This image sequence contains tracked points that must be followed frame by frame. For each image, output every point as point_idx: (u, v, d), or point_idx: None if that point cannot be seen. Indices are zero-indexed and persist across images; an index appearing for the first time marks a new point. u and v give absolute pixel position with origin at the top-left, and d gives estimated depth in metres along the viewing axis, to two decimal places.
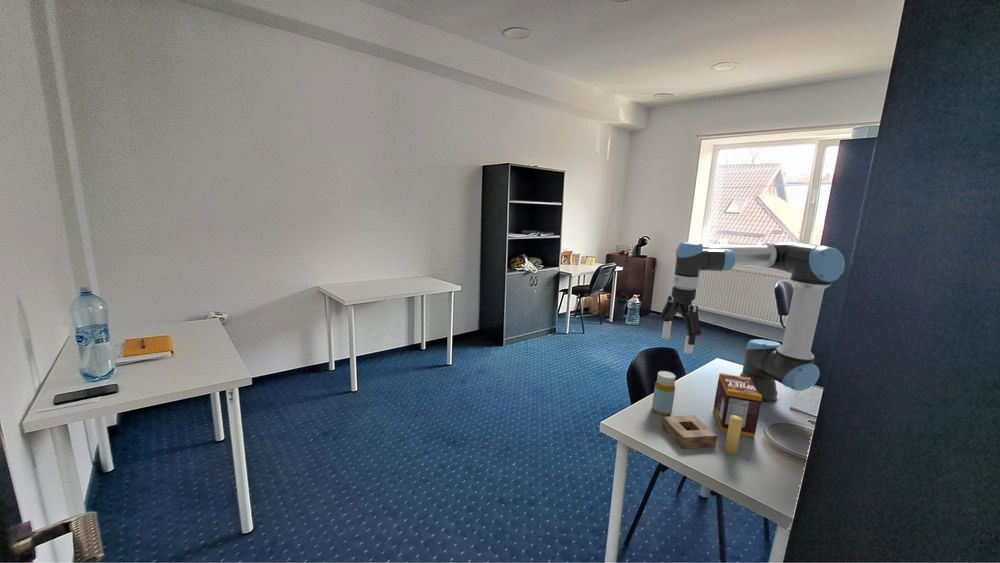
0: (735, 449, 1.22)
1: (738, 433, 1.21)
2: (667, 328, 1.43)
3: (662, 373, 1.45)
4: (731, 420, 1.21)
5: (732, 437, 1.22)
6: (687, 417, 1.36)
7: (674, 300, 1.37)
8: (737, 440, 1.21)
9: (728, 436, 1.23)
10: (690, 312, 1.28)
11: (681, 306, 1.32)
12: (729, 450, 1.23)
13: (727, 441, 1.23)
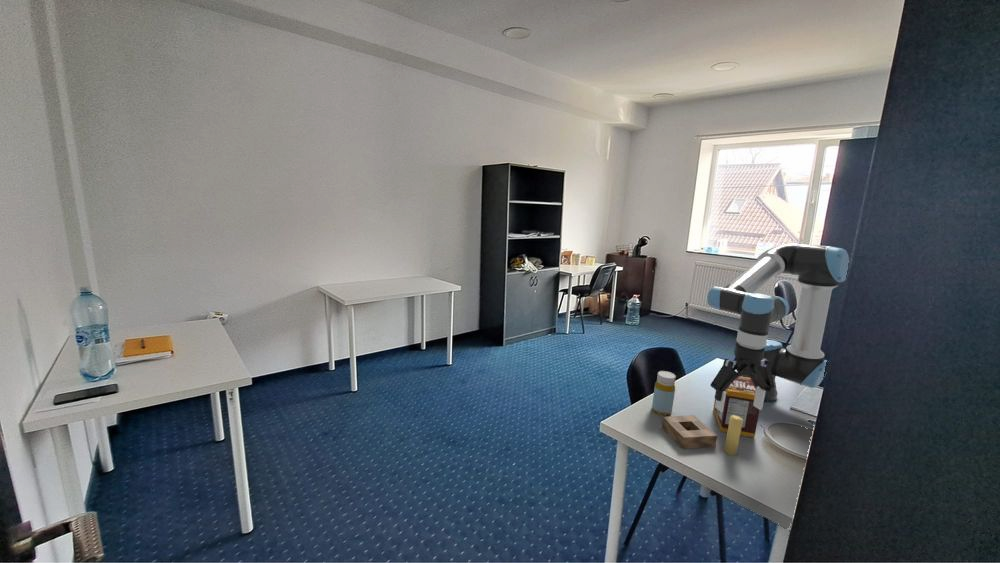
0: (735, 449, 1.22)
1: (738, 433, 1.21)
2: (758, 396, 1.21)
3: (662, 373, 1.45)
4: (731, 420, 1.21)
5: (732, 437, 1.22)
6: (687, 417, 1.36)
7: None
8: (737, 440, 1.21)
9: (728, 436, 1.23)
10: None
11: None
12: (729, 450, 1.23)
13: (727, 441, 1.23)
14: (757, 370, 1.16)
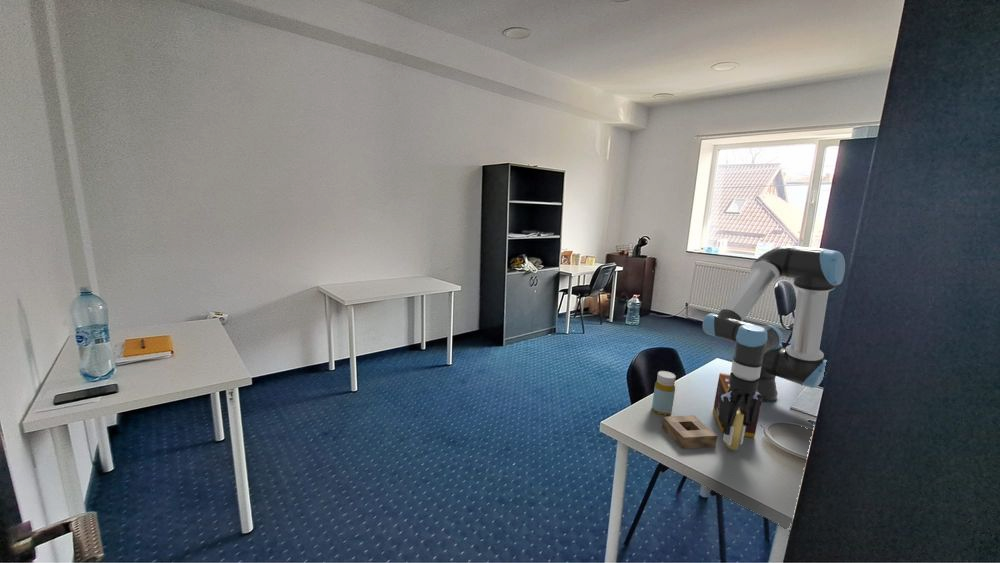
0: (737, 444, 1.22)
1: (739, 428, 1.21)
2: None
3: (662, 373, 1.45)
4: None
5: (733, 432, 1.21)
6: (687, 417, 1.36)
7: None
8: (738, 435, 1.21)
9: None
10: None
11: None
12: (731, 445, 1.22)
13: None
14: (749, 401, 1.19)
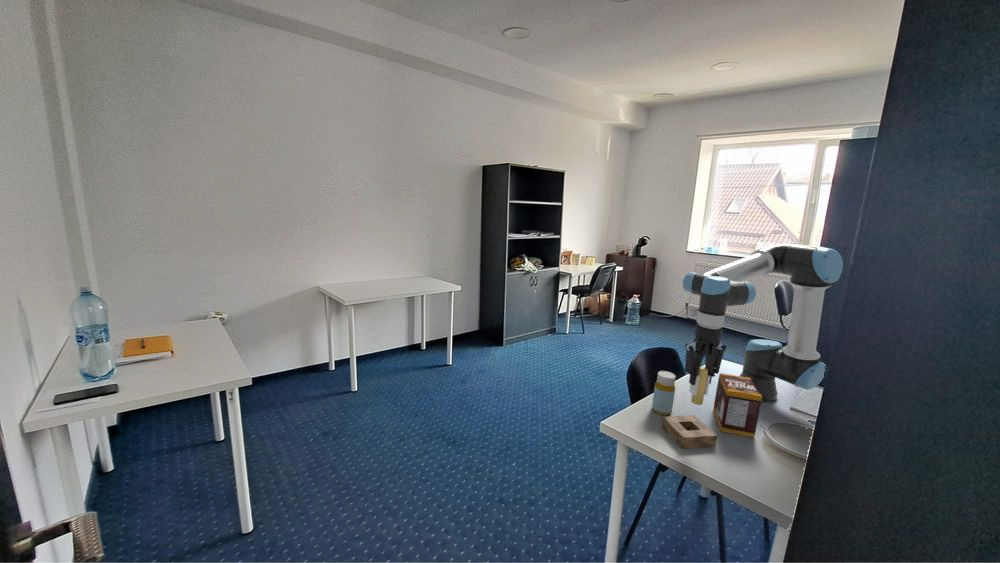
0: (701, 399, 1.26)
1: (704, 383, 1.24)
2: None
3: (662, 373, 1.45)
4: None
5: (698, 387, 1.25)
6: (687, 417, 1.36)
7: None
8: (703, 390, 1.25)
9: None
10: None
11: None
12: (695, 400, 1.26)
13: None
14: (713, 351, 1.22)
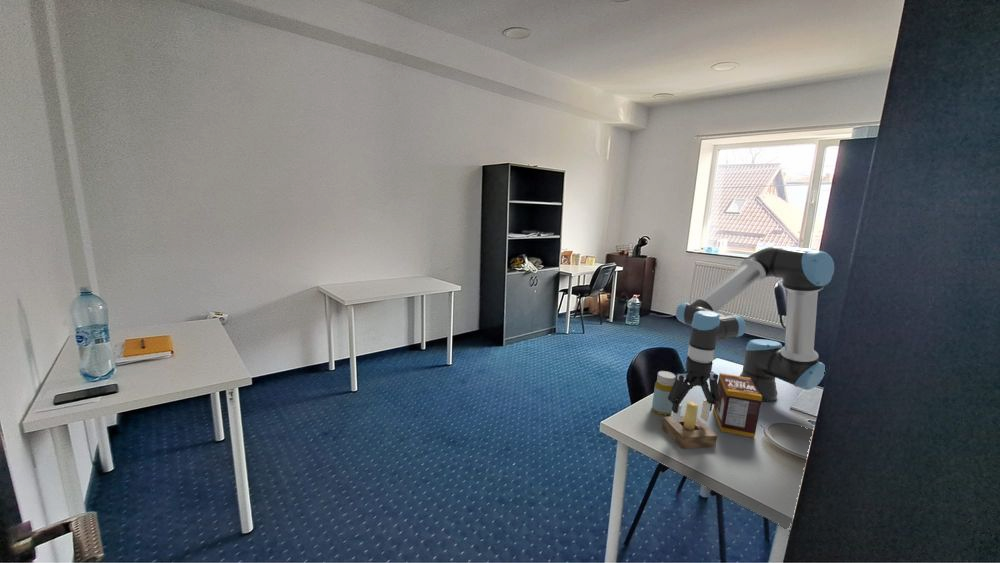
0: None
1: (694, 418, 1.28)
2: (705, 408, 1.30)
3: (662, 373, 1.45)
4: (687, 406, 1.29)
5: (688, 423, 1.29)
6: None
7: None
8: (693, 425, 1.29)
9: (685, 421, 1.30)
10: None
11: None
12: None
13: (684, 426, 1.30)
14: (705, 382, 1.26)
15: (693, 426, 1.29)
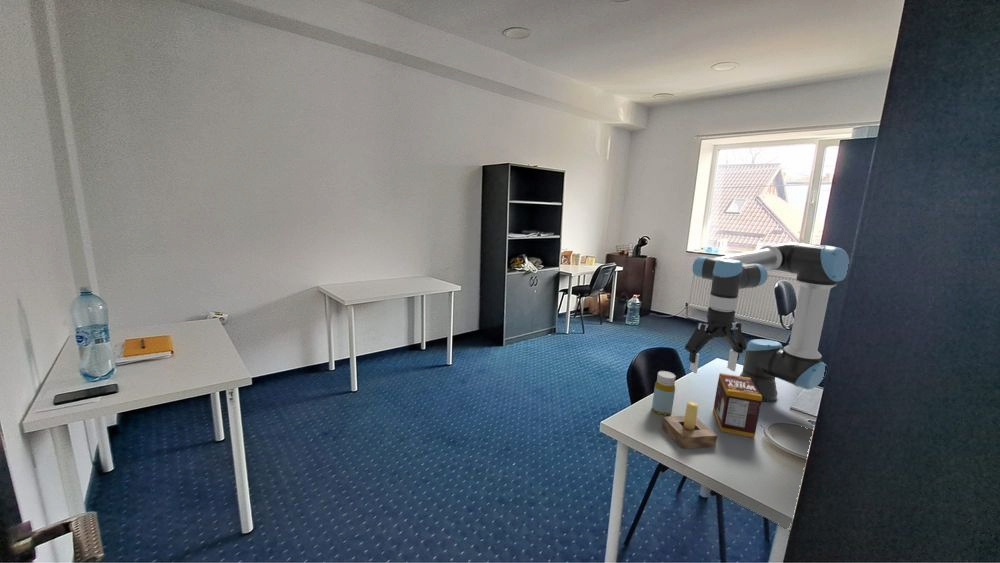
0: None
1: (694, 418, 1.28)
2: (731, 358, 1.26)
3: (662, 373, 1.45)
4: (687, 406, 1.29)
5: (688, 423, 1.29)
6: None
7: None
8: (693, 425, 1.29)
9: (685, 421, 1.30)
10: None
11: None
12: None
13: (684, 426, 1.30)
14: (729, 332, 1.22)
15: (693, 426, 1.29)
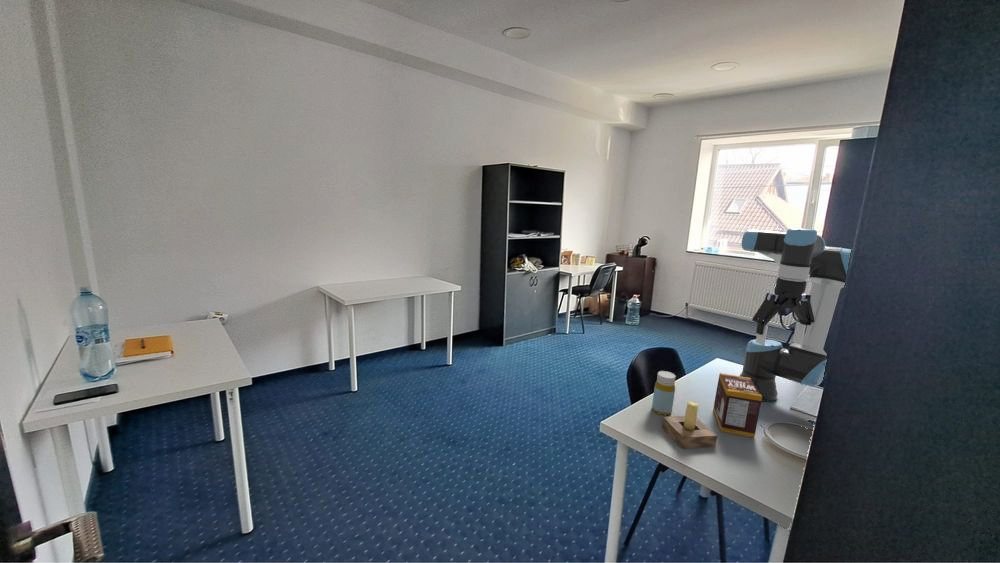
0: None
1: (694, 418, 1.28)
2: (798, 331, 1.24)
3: (662, 373, 1.45)
4: (687, 406, 1.29)
5: (688, 423, 1.29)
6: None
7: None
8: (693, 425, 1.29)
9: (685, 421, 1.30)
10: None
11: None
12: None
13: (684, 426, 1.30)
14: (798, 304, 1.19)
15: (693, 426, 1.29)
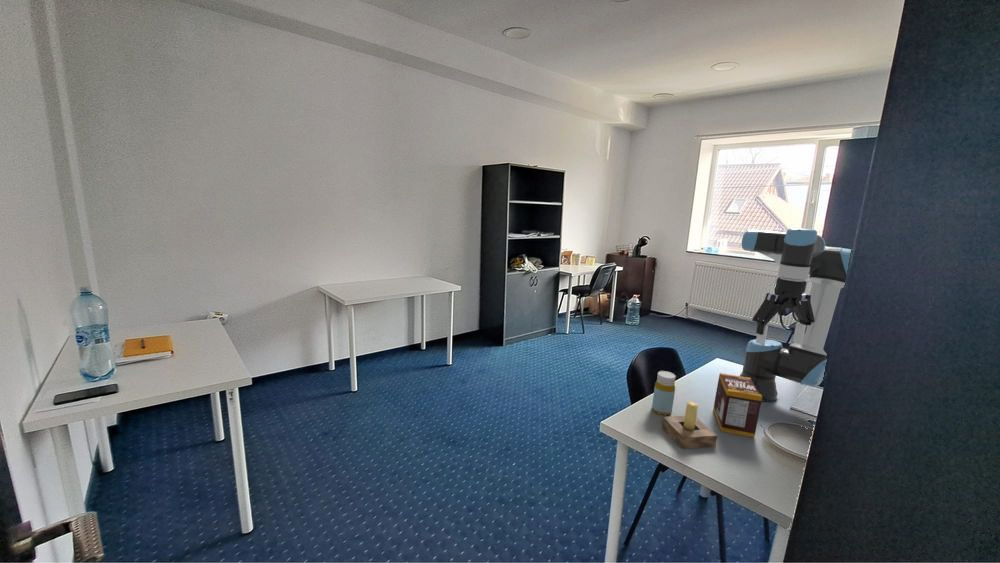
0: None
1: (694, 418, 1.28)
2: (798, 331, 1.24)
3: (662, 373, 1.45)
4: (687, 406, 1.29)
5: (688, 423, 1.29)
6: None
7: None
8: (693, 425, 1.29)
9: (685, 421, 1.30)
10: None
11: None
12: None
13: (684, 426, 1.30)
14: (798, 304, 1.19)
15: (693, 426, 1.29)
